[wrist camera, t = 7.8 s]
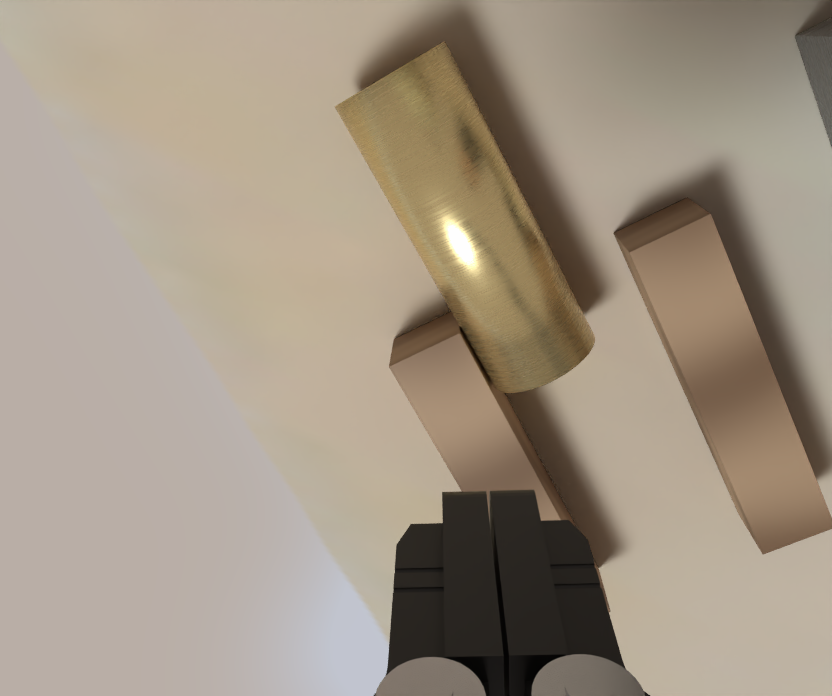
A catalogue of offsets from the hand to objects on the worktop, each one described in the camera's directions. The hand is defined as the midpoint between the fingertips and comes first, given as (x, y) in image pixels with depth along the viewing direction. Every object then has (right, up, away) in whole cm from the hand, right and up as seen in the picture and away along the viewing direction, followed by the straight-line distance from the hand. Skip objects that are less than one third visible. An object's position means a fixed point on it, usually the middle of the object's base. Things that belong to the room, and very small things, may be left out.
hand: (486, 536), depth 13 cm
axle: (+2, +8, +12) cm, 14 cm away
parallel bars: (+6, +1, +15) cm, 16 cm away
